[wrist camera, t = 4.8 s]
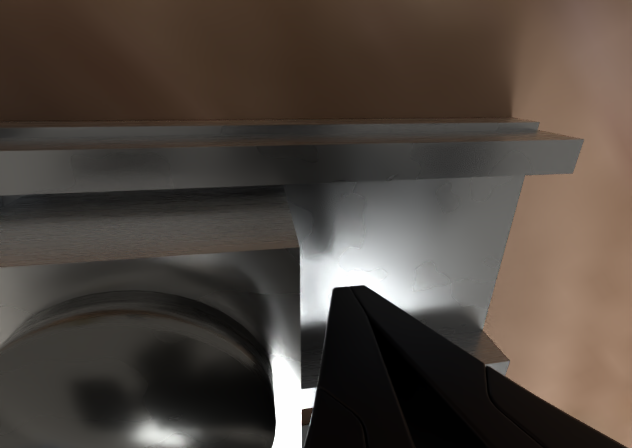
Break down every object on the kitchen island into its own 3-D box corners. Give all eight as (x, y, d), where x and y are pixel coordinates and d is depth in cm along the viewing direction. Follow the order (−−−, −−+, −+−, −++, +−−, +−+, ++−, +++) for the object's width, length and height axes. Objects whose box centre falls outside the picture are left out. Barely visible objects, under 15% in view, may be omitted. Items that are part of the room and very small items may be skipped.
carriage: (282, 180, 8) (307, 275, 4) (287, 348, 10) (307, 511, 7) (34, 189, 7) (-209, 319, 3) (97, 370, 10) (-8, 572, 6)
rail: (512, 117, 10) (612, 134, 7) (461, 332, 13) (515, 400, 10) (-45, 122, 8) (-211, 149, 5) (62, 379, 11) (-2, 482, 8)
